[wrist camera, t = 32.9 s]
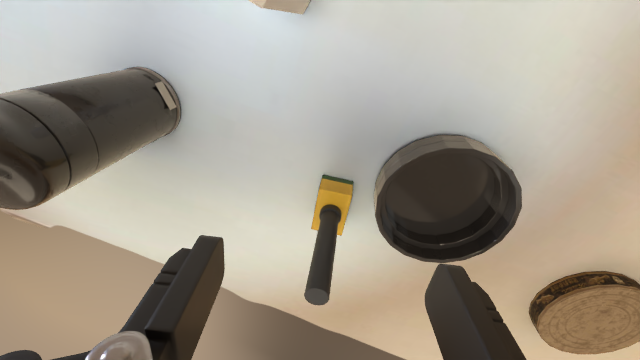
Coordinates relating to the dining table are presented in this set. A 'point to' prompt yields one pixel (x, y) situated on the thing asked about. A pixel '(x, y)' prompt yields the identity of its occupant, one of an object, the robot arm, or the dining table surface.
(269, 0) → the milk carton
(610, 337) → the wood slice
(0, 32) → the dining table surface
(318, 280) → the sponge wand
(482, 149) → the bowl
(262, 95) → the dining table surface
